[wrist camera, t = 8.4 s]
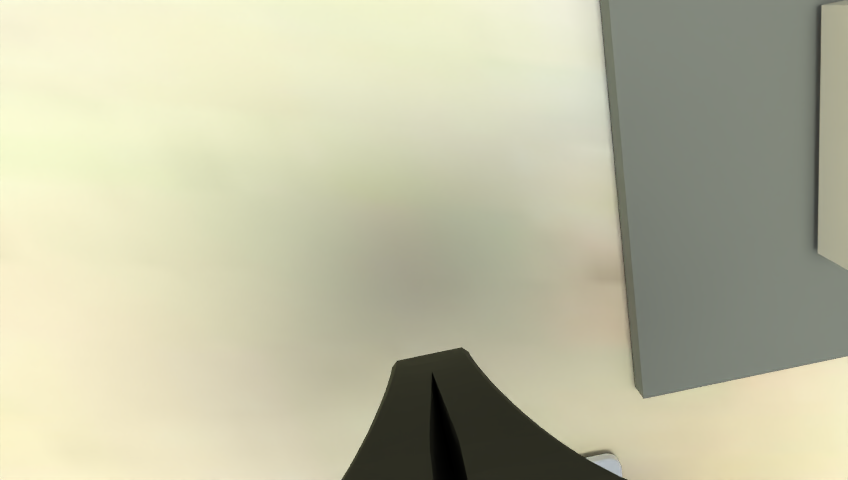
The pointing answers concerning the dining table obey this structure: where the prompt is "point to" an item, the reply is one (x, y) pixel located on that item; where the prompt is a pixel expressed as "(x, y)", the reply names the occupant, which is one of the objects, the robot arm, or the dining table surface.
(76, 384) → the dining table surface
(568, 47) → the dining table surface
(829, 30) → the tile
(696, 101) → the tile mat
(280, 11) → the dining table surface
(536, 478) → the robot arm
